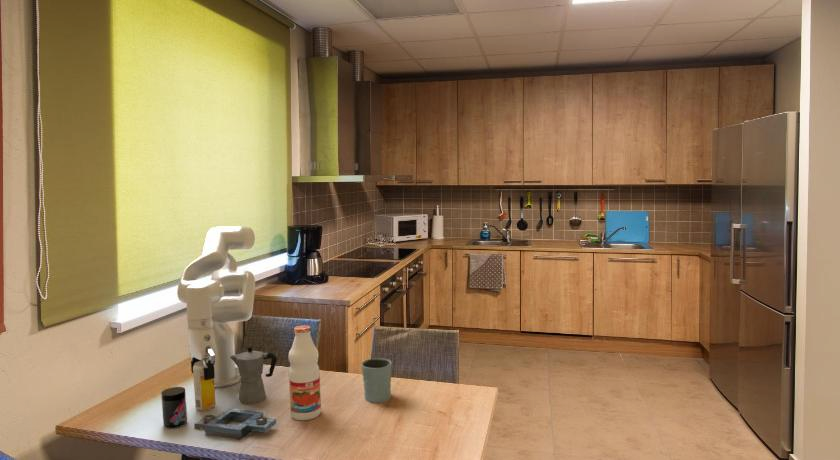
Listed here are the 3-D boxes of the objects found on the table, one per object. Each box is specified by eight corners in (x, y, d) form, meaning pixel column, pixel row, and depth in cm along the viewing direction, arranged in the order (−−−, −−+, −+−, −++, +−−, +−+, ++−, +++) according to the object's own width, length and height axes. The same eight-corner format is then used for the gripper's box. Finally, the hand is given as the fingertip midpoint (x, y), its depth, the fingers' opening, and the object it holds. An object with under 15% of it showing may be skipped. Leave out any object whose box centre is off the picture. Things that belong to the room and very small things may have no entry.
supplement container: (165, 431, 168) (163, 397, 167) (161, 422, 174) (159, 390, 173) (189, 425, 172) (187, 392, 171) (184, 417, 178) (182, 385, 177)
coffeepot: (228, 404, 186) (225, 351, 184) (236, 393, 196) (233, 342, 194) (275, 403, 187) (273, 350, 185) (281, 392, 196) (279, 341, 194)
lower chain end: (187, 432, 167) (187, 424, 167) (213, 415, 179) (212, 408, 178) (241, 439, 162) (240, 431, 162) (264, 421, 174) (263, 414, 173)
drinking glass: (374, 406, 183) (373, 370, 182) (356, 397, 191) (355, 362, 190) (398, 397, 190) (397, 362, 189) (380, 389, 198) (379, 355, 196)
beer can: (219, 404, 187) (217, 360, 185) (207, 412, 181) (204, 367, 179) (204, 402, 189) (201, 358, 187) (191, 410, 183) (188, 365, 181)
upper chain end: (205, 430, 165) (204, 422, 165) (229, 412, 177) (229, 405, 177) (259, 437, 160) (259, 429, 160) (281, 419, 172) (281, 411, 172)
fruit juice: (317, 405, 184) (314, 321, 181) (324, 417, 176) (321, 329, 173) (288, 411, 181) (284, 325, 178) (293, 423, 172) (289, 333, 169)
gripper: (223, 325, 178) (226, 378, 179) (200, 316, 190) (203, 366, 191) (199, 330, 172) (202, 385, 174) (177, 320, 185) (180, 372, 186)
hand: (203, 375), depth 183 cm, fingers open, 9 cm apart
